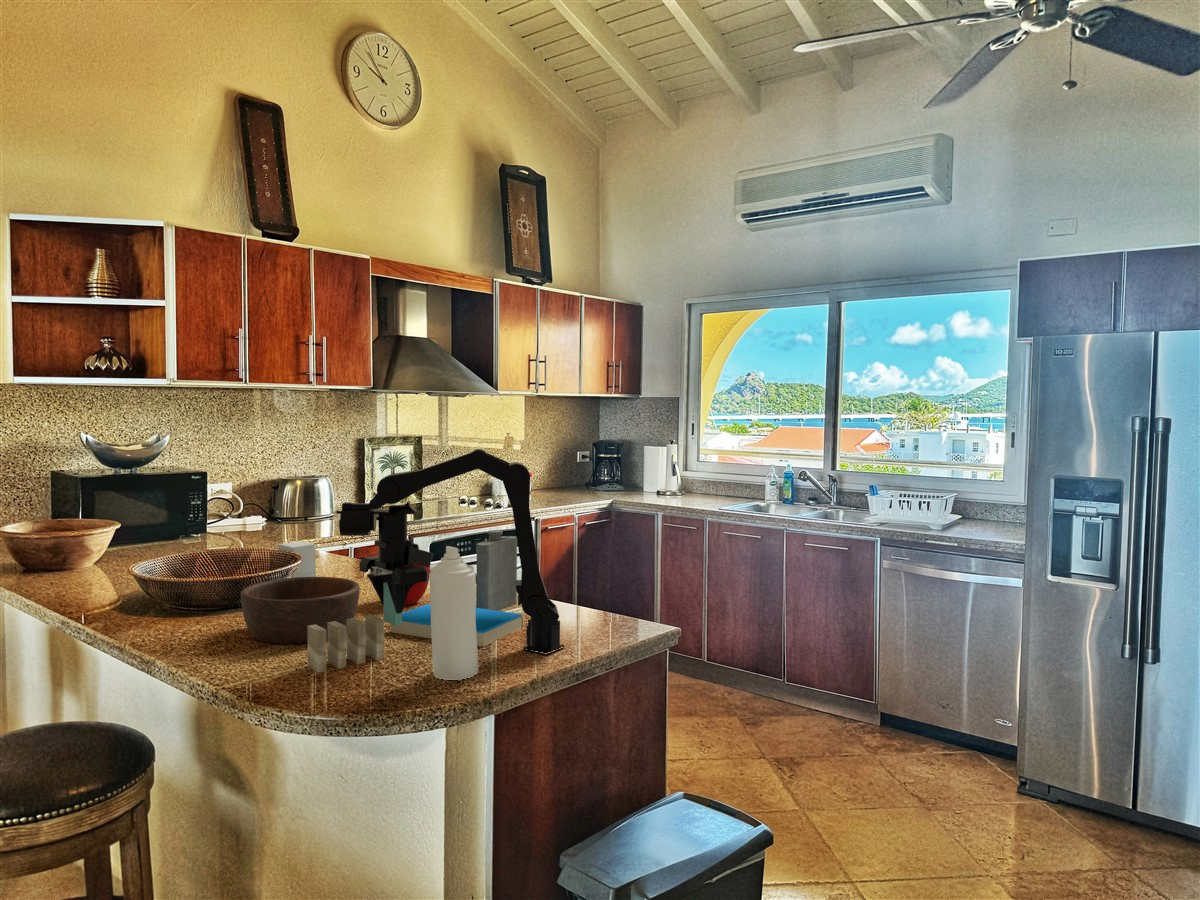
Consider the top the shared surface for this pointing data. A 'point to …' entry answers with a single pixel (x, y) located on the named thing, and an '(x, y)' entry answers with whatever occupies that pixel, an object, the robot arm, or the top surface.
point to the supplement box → (302, 557)
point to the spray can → (453, 617)
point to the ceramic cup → (417, 590)
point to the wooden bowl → (297, 607)
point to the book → (487, 624)
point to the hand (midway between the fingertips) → (392, 610)
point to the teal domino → (390, 608)
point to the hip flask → (496, 572)
